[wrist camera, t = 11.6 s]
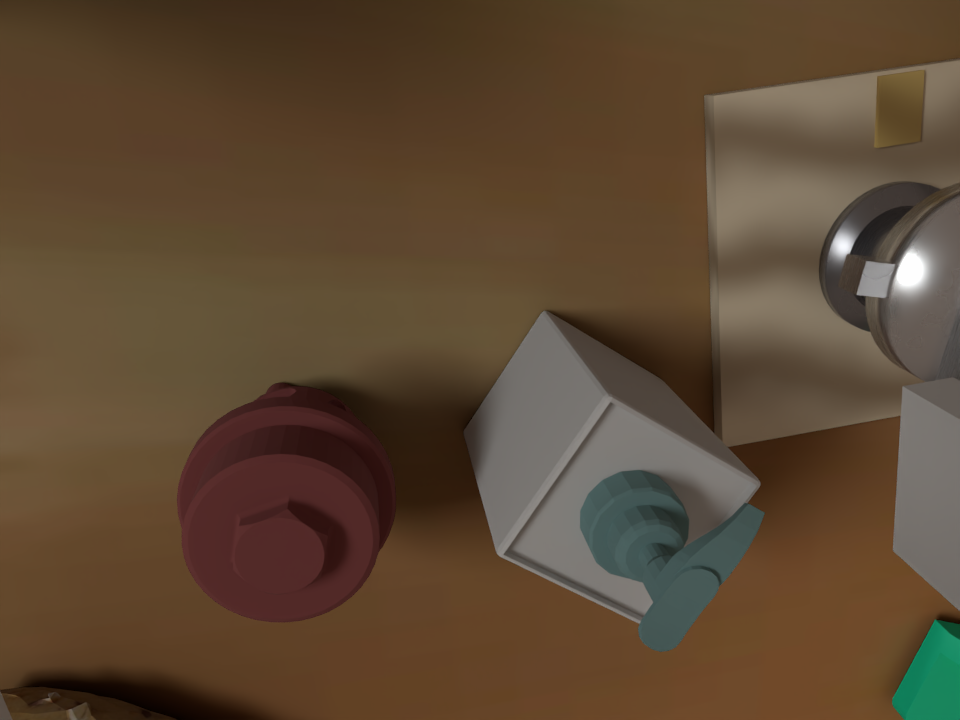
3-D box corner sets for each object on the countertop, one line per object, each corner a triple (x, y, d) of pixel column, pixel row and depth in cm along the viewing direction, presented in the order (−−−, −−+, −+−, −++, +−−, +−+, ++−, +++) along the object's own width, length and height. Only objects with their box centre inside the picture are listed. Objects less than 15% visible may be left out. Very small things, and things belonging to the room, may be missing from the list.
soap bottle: (664, 376, 47) (847, 561, 29) (580, 495, 49) (704, 735, 31) (544, 305, 45) (664, 458, 27) (461, 432, 47) (521, 653, 29)
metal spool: (820, 193, 44) (881, 209, 38) (966, 170, 44) (1045, 183, 39) (817, 340, 46) (873, 373, 41) (954, 316, 47) (1026, 346, 42)
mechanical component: (218, 335, 43) (405, 364, 45) (199, 501, 46) (374, 521, 48) (165, 431, 31) (419, 465, 33) (144, 644, 34) (378, 664, 36)
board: (704, 95, 42) (715, 95, 41) (1059, 43, 44) (1082, 42, 42) (714, 439, 49) (724, 450, 48) (1020, 383, 51) (1039, 392, 49)
